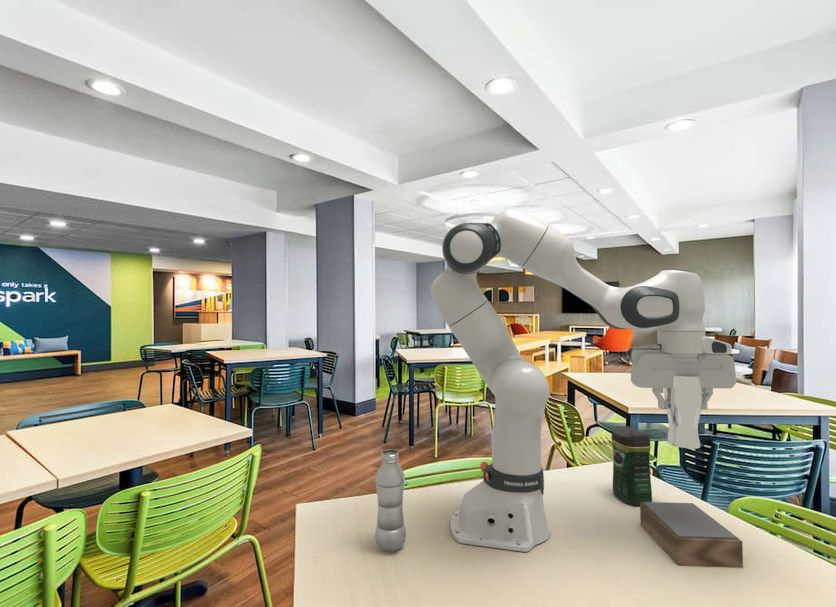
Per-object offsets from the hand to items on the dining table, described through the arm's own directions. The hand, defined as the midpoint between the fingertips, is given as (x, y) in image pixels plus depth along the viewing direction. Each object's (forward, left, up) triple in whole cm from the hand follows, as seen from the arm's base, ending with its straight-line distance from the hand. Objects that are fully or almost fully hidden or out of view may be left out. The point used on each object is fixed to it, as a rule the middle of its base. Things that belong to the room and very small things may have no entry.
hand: (682, 408), depth 90 cm
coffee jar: (-2, +22, -29) cm, 36 cm away
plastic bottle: (-63, -5, -29) cm, 69 cm away
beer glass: (0, 0, -8) cm, 8 cm away
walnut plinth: (0, 0, -29) cm, 29 cm away
